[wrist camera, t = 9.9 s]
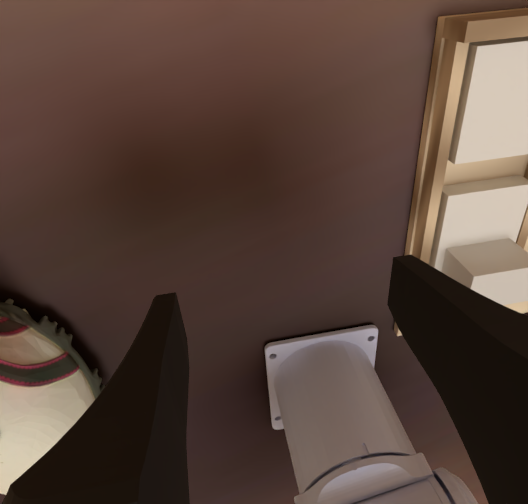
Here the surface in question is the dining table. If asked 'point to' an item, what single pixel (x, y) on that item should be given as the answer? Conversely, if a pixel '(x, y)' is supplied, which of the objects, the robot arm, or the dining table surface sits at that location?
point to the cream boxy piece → (492, 190)
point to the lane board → (442, 124)
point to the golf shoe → (37, 389)
